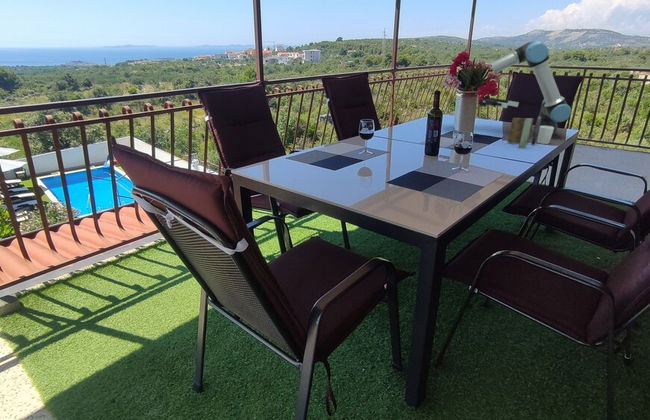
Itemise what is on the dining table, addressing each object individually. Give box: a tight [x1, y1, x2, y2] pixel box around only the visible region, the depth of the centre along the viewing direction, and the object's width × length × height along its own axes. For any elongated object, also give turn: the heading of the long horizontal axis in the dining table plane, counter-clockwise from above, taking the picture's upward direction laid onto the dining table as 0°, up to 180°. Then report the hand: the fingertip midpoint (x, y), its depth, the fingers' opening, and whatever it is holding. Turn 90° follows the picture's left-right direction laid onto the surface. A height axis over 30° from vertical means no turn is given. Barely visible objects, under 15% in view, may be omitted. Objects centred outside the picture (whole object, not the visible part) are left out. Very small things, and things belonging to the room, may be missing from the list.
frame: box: [518, 115, 542, 149], centre depth 223 cm, size 16×2×17 cm, turn 124°
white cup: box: [536, 126, 554, 145], centre depth 232 cm, size 8×8×10 cm
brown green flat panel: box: [507, 117, 535, 144], centre depth 229 cm, size 12×1×15 cm, turn 84°
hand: (512, 105), depth 228 cm, fingers open, 13 cm apart
